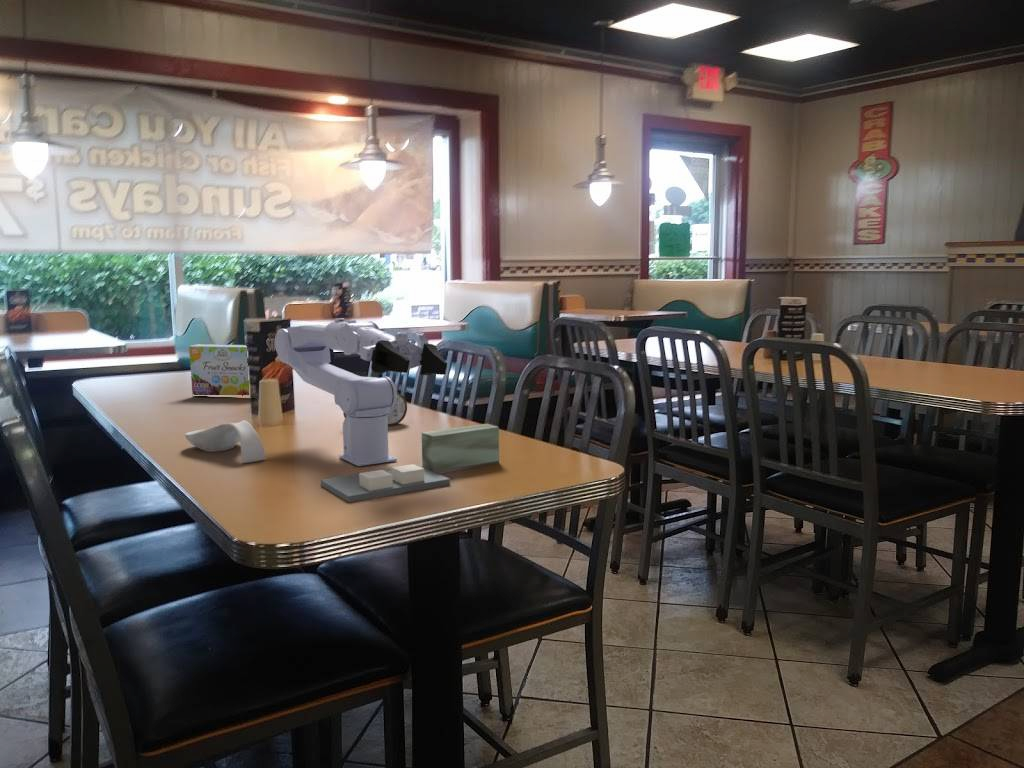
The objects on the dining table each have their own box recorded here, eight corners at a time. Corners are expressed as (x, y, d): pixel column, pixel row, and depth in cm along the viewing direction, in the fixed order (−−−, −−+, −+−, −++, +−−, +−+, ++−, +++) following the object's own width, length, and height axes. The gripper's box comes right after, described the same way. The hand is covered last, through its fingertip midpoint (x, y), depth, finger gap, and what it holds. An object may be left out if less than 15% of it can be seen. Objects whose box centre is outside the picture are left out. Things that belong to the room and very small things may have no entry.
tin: (403, 422, 189) (402, 387, 188) (409, 424, 187) (408, 388, 186) (343, 429, 181) (341, 392, 180) (348, 431, 179) (346, 394, 178)
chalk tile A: (359, 485, 130) (359, 473, 130) (382, 481, 132) (381, 469, 132) (369, 490, 127) (369, 478, 126) (392, 486, 129) (392, 474, 128)
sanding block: (422, 470, 144) (421, 432, 143) (487, 459, 152) (487, 423, 151) (433, 475, 141) (432, 436, 140) (499, 463, 149) (498, 426, 148)
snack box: (191, 397, 229) (187, 345, 227) (201, 394, 234) (198, 343, 232) (260, 399, 225) (257, 346, 223) (269, 396, 231) (266, 344, 229)
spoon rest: (177, 448, 164) (174, 414, 163) (232, 440, 172) (230, 407, 171) (225, 468, 146) (223, 430, 145) (284, 458, 154) (283, 421, 153)
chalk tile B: (392, 479, 134) (391, 467, 133) (413, 475, 136) (413, 464, 135) (402, 484, 130) (402, 472, 130) (424, 480, 132) (424, 468, 132)
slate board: (320, 485, 134) (320, 479, 133) (417, 470, 143) (417, 464, 143) (348, 502, 124) (348, 496, 123) (450, 484, 134) (449, 478, 133)
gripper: (352, 323, 137) (393, 341, 128) (421, 330, 147) (464, 347, 137) (345, 363, 139) (385, 383, 129) (414, 367, 148) (457, 386, 138)
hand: (426, 367), depth 133 cm, fingers open, 7 cm apart
